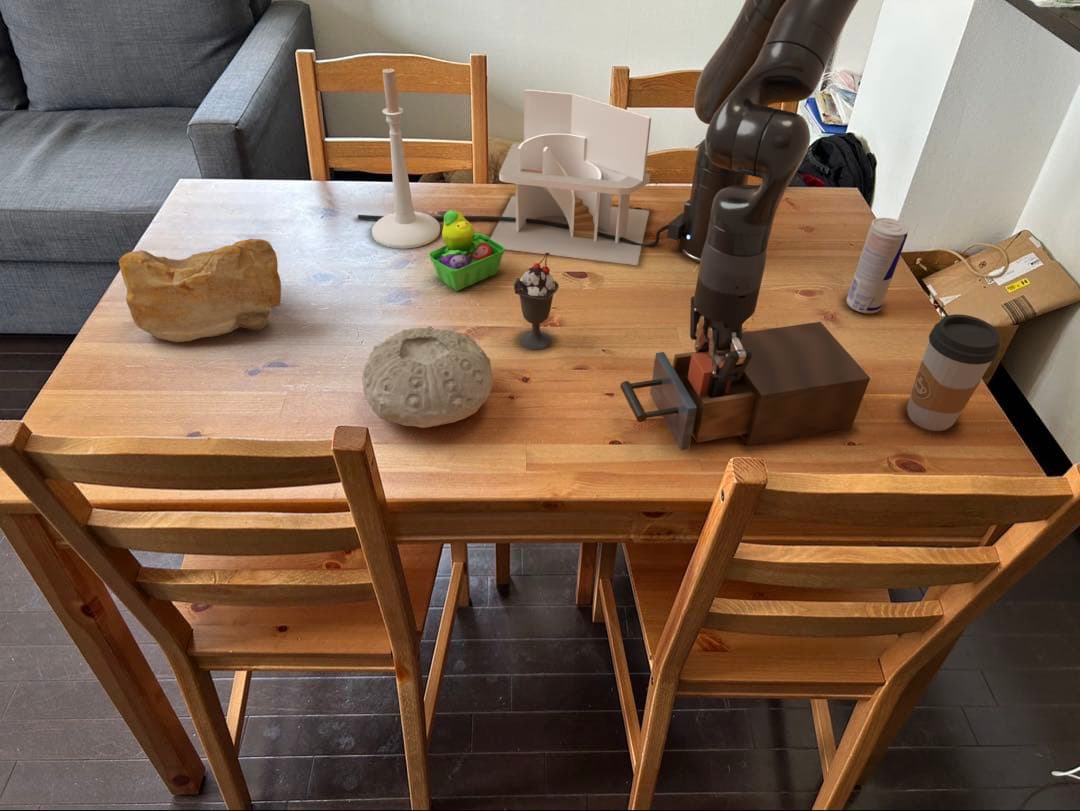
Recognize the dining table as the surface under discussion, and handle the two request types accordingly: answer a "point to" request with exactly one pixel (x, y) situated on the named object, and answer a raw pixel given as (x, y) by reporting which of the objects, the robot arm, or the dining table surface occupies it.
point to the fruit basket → (464, 253)
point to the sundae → (536, 303)
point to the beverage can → (877, 264)
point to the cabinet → (800, 383)
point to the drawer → (692, 403)
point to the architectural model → (576, 179)
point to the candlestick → (401, 187)
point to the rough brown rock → (202, 290)
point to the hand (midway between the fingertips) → (708, 384)
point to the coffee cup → (951, 370)
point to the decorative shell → (427, 377)
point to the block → (702, 373)
